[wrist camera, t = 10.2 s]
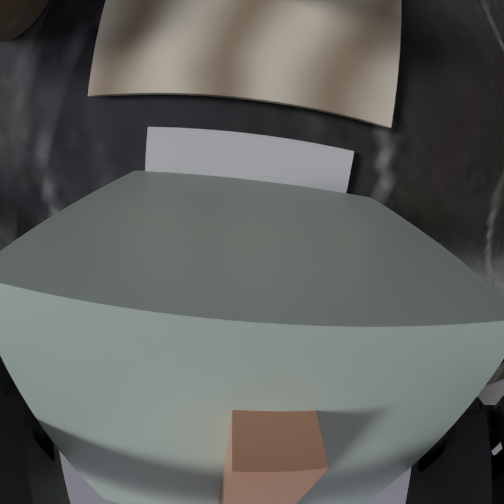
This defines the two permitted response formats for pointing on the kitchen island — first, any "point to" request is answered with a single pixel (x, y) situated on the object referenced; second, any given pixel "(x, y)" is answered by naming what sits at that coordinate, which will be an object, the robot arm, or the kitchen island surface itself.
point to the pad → (248, 157)
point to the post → (254, 52)
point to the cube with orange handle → (242, 340)
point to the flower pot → (18, 16)
